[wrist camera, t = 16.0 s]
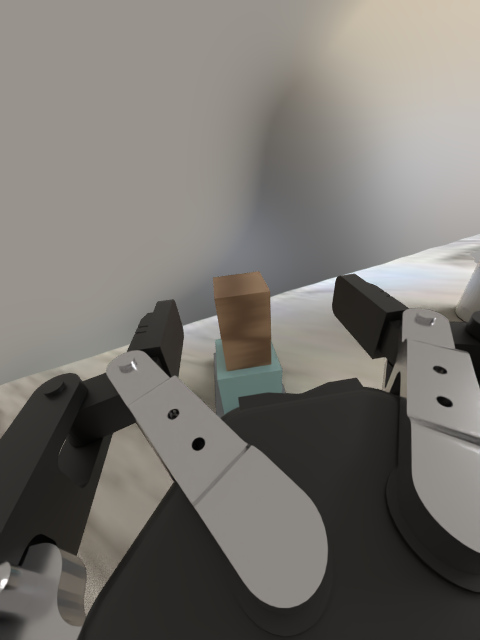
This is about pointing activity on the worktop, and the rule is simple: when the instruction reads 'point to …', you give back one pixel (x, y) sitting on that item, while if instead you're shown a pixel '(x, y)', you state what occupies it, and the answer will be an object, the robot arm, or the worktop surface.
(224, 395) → the tower base
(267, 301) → the walnut brick
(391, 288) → the worktop surface
